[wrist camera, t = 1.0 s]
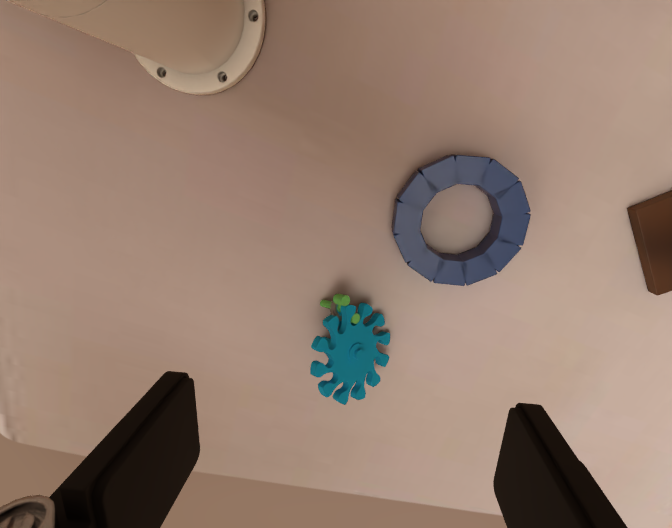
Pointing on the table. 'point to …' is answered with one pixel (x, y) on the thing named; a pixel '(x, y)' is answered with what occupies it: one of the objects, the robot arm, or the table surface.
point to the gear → (349, 349)
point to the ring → (492, 249)
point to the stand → (654, 240)
